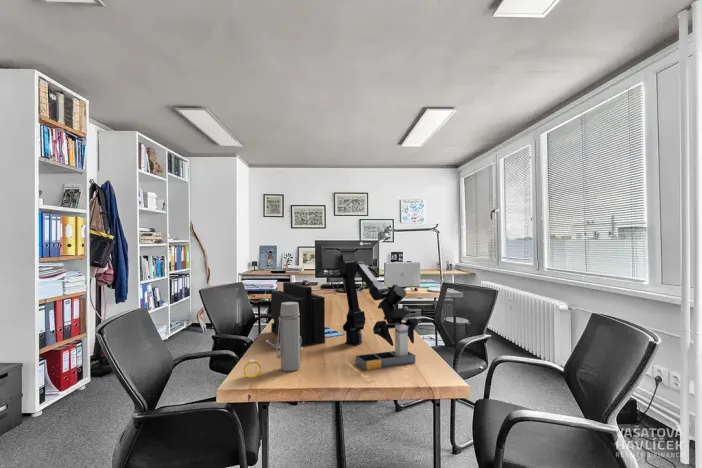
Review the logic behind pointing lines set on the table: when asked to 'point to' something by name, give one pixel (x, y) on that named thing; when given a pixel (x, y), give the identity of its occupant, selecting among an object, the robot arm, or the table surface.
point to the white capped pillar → (401, 340)
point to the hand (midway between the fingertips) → (403, 344)
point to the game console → (303, 313)
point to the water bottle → (289, 336)
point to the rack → (383, 360)
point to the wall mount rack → (279, 344)
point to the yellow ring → (252, 363)
